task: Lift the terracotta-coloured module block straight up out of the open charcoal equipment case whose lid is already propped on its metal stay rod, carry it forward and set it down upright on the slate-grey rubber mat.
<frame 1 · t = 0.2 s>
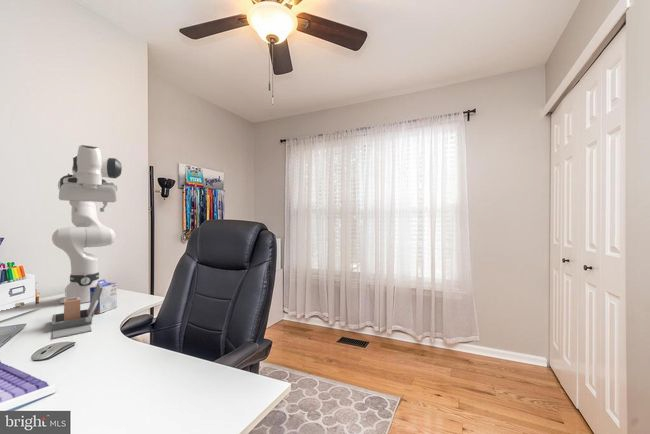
hand: (88, 211, 128), 47 cm above the table, tool pointing down, fingers open, 8 cm apart
module: (71, 323, 119), resting in case
ink cartridge box: (103, 310, 135), on the table
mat: (72, 331, 110), on the table
case: (71, 323, 119), on the table
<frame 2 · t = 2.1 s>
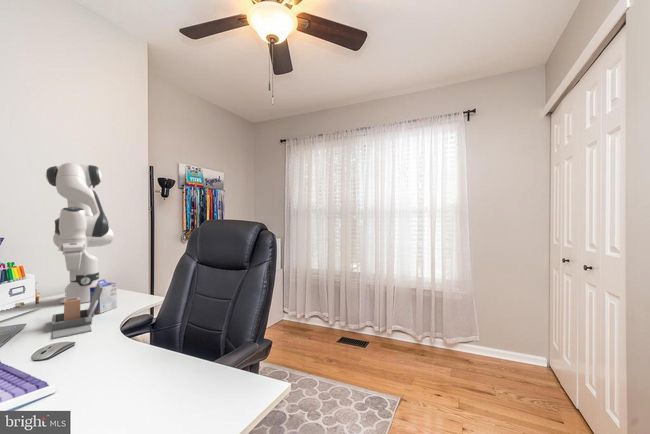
hand: (72, 278, 118), 19 cm above the table, tool pointing down, fingers open, 8 cm apart
nothing on the table moved.
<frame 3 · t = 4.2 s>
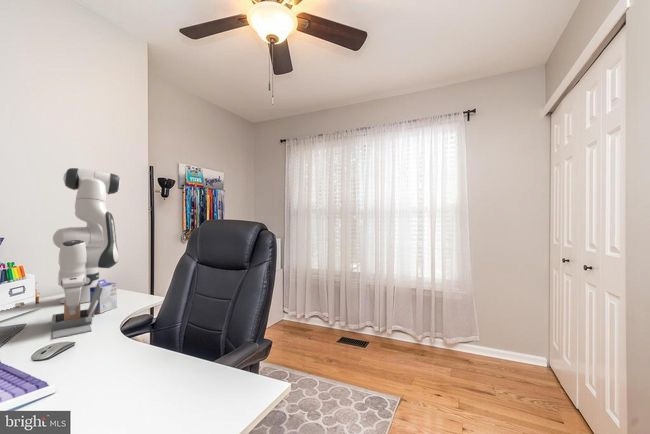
hand: (72, 312, 119), 5 cm above the table, tool pointing down, fingers closed on module, 5 cm apart
module: (71, 323, 119), resting in case, touching gripper
everything else where it was.
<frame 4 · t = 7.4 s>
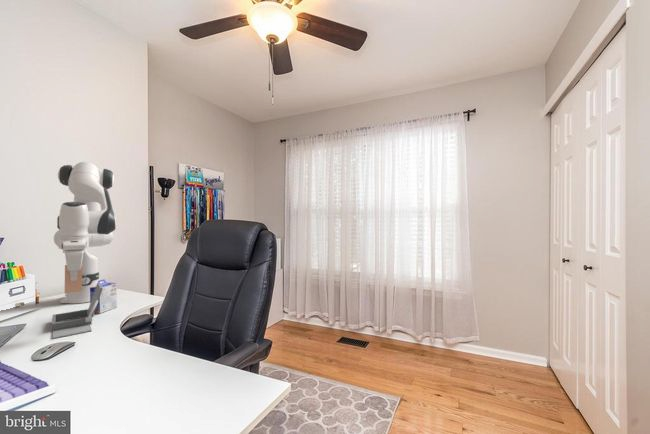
hand: (73, 279, 110), 21 cm above the table, tool pointing down, fingers closed on module, 5 cm apart
module: (73, 290, 110), point 16 cm above the table, touching gripper
everything else where it was.
when the fingers open (6 cm above the table, at t = 10.7 s): module stays where it is, resting on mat.
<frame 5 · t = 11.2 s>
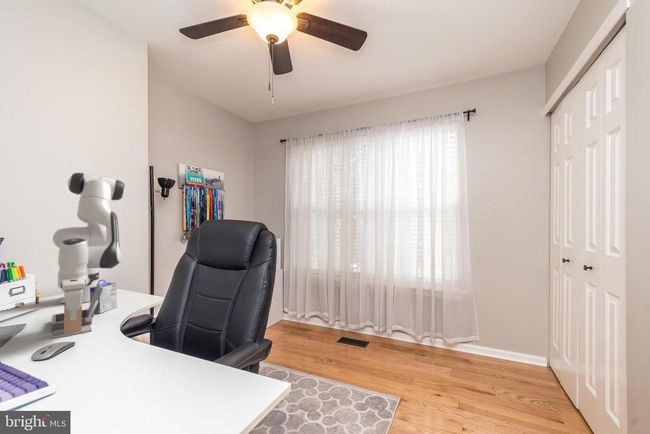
hand: (72, 316, 110), 6 cm above the table, tool pointing down, fingers open, 8 cm apart
module: (72, 330, 110), resting on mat
everything else where it was.
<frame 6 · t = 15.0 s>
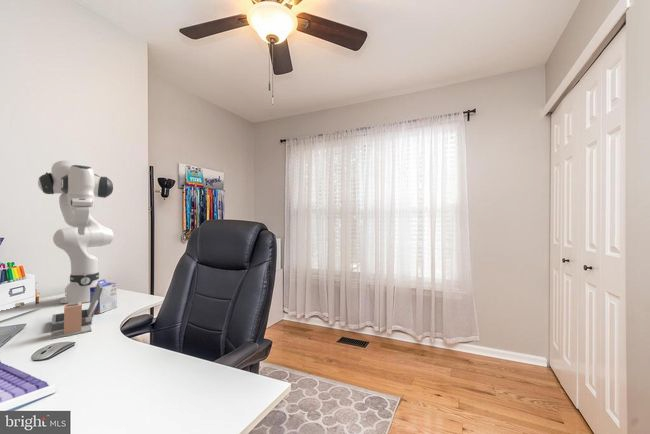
hand: (81, 234, 123), 37 cm above the table, tool pointing down, fingers open, 8 cm apart
nothing on the table moved.
at the end: module inside the target area on the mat (0.1 cm from its centre), point 0.5 cm above the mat's base; module tilted 0°; the gripper is holding nothing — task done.
